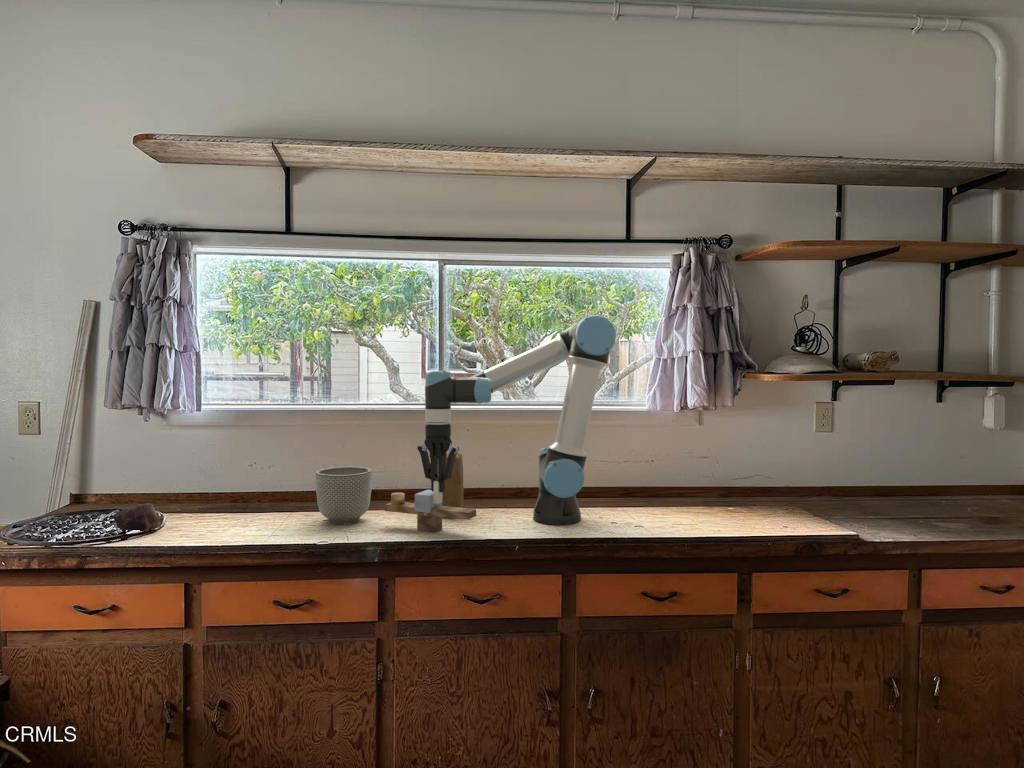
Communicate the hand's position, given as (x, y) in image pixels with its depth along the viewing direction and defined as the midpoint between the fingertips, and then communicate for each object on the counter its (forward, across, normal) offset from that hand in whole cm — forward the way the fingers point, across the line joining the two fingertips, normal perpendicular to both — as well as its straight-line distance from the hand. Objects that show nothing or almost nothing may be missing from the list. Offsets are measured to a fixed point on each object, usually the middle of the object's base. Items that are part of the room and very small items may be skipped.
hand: (438, 502), depth 186 cm
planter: (+9, +33, +1) cm, 34 cm away
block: (+9, +6, -20) cm, 23 cm away
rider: (+2, +3, 0) cm, 4 cm away
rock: (+9, +80, +35) cm, 88 cm away
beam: (+9, +3, 0) cm, 9 cm away
